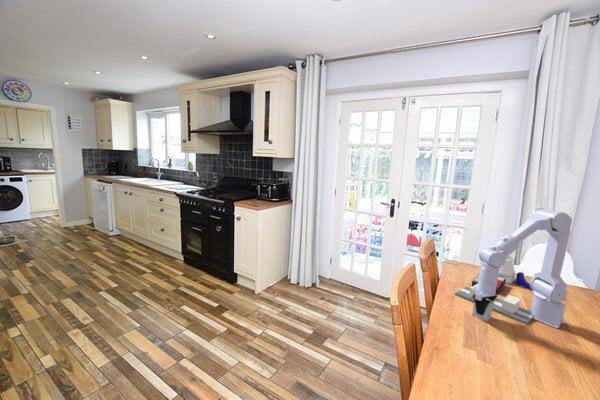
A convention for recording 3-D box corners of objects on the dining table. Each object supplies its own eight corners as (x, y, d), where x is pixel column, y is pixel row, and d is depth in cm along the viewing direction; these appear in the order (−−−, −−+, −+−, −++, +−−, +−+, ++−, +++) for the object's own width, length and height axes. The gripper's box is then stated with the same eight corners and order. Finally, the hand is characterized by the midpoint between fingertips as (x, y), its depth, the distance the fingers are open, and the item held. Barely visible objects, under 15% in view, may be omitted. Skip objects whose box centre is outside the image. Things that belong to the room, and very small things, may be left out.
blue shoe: (548, 293, 129) (551, 281, 128) (543, 295, 127) (546, 283, 126) (519, 282, 139) (522, 271, 139) (515, 283, 138) (517, 272, 137)
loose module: (491, 317, 105) (494, 301, 104) (486, 321, 103) (489, 304, 101) (476, 311, 109) (479, 295, 108) (472, 315, 107) (474, 298, 105)
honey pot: (499, 284, 136) (505, 250, 133) (477, 273, 148) (483, 241, 146) (519, 283, 139) (526, 249, 136) (497, 272, 151) (502, 241, 148)
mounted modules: (519, 307, 111) (521, 299, 111) (513, 313, 107) (514, 304, 106) (476, 291, 124) (477, 283, 123) (469, 296, 119) (470, 287, 119)
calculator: (472, 279, 132) (480, 270, 142) (470, 287, 133) (479, 277, 143) (499, 288, 124) (506, 277, 134) (497, 296, 125) (504, 285, 135)
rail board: (535, 315, 109) (536, 312, 109) (526, 324, 102) (527, 322, 102) (466, 288, 129) (466, 285, 129) (454, 294, 122) (455, 292, 122)
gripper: (483, 271, 111) (478, 302, 113) (468, 279, 102) (463, 312, 104) (504, 278, 105) (498, 310, 107) (489, 287, 97) (483, 322, 99)
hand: (482, 312), depth 106 cm, fingers closed on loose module, 4 cm apart
